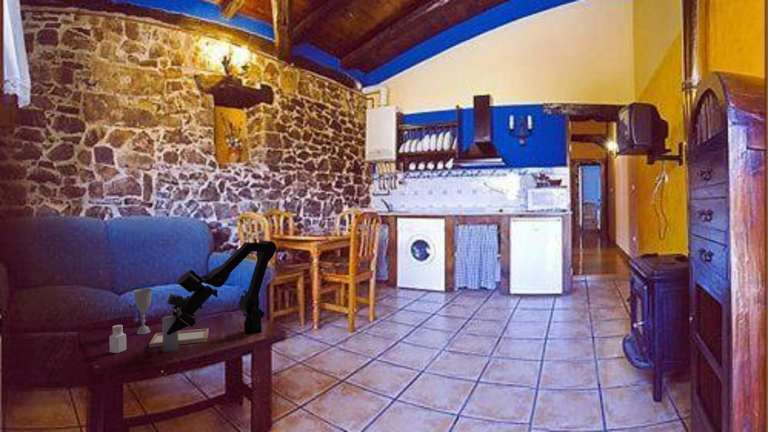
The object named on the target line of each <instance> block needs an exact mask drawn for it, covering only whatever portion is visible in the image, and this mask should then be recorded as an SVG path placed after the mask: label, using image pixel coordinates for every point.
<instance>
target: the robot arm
mask: <svg viewBox="0 0 768 432" xmlns="http://www.w3.org/2000/svg"><path fill="white" fill-rule="evenodd" d="M277 248H278V247H277V245H276V243H275V242H274V241H272V240H261V241H259V242H250V241H249V242H248V241H246V242H243V244H242V245H241V246H240V247H239V248H238V249H237V250H236V251H235V252H234V253H233V254H232V255H231V256H230V257H229V258H227V260H226V261H224V262H223V263H222V264H221V265H219V266H217V267H215V268H213V269H212V270H211V271H209V272H207V274H206V275H201V276H199V275H198V274H197V273H196V272H195V270H192V269H190V270H189V271H187V272H185V273H184V274H182V275H181V276H180V277H179V278H178V280H177V284H178V285H179V286H180V287H182V288H183V289H184V290H185V291H187V292H188V293H192V294H191V295H187V296H186V297H183V296H182V295H181V296H180V295H179V294H177V295H176V294H173V293H170V295H169V296H168V299H167V301H166V302H167V304H168V305H170V306H171V308H172V309H171V314H172V315H171V316H175V322H174V323H173V324H172V326H171V327H170V328H169V330H168V331H167V333H166V334H167V335H170V334H172V333H174V332H176V331H181V330H183V329H184V328H187V327H191V328H192V327H193V326H195V325H196V318H195V316H196V315H195V314H196V313H197V312H198V310H199V309H200V310H201V309H203V305H204V304H205V303H206V302H207V301H208V300H209V298H210V297H212V296H214V298H218V291H219V290H217V289H216V288H221V287H222V286H224V285H225V283H226V282H227V281H228V279H229V277H230V275H231V273H232V272H233V271H234V270H235V269H236V268H237V267H238V266H239V265H240V264H241V263H242V262H243V261H244V260H245V259H246V258H247V257H248V256H249V255H250V254H251V253H253V252H256V263H255V266H254V269H253V274H252V276H251V279H250V283H249V286H248V289H247V292H246V293H245V294H244V295H242V294H241V295H240V298H239V299H240V300H239V302H238V309H239V311H240V312H241V313H242V315H243V316H244V317H245V320H243V327H244V329H243V330H244V332H245V334H246V335H247V334H256V333H257V334H258V333H262V331H263V330H262V319H263V318H264V315H265V311H263V310H262V309H261V308H260V303H261V302H260V292H261V289H262V286H263V283H264V278H265V274H266V271H267V268H268V265H269V262H270V261H271V260H272V259H273V257H274V256H275V253H276V252H277ZM203 284H206V285H203ZM212 287H214V289H213V288H212Z"/></svg>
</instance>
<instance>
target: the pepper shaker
mask: <svg viewBox="0 0 768 432" xmlns="http://www.w3.org/2000/svg"><path fill="white" fill-rule="evenodd" d="M123 326H124V325H122V324H116V325H113V326H112V334H110V336H109V339H108V340H109V352H110V353H113V354H119V353H121V352H124V351H126V350H127V334H126V333H124V331H123V329H124V328H123Z"/></svg>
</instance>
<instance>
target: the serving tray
mask: <svg viewBox="0 0 768 432" xmlns="http://www.w3.org/2000/svg"><path fill="white" fill-rule="evenodd" d="M209 332H210V328H209V327H207V328H200V329H199V328H198V329H187V330H178V346H179V345H188V344H189V345H190V344H196V343H197V344H198V343H206V342H207V341H208V337H209ZM158 347H159V348H161V347H163V332H156V333H155V334H154V335H153V337H152V338H151V339H150V341H149V343H148V348H158Z"/></svg>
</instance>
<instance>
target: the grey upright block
mask: <svg viewBox="0 0 768 432" xmlns="http://www.w3.org/2000/svg"><path fill="white" fill-rule="evenodd" d="M161 321H162V323H161V326H162V327H161V328H162V333H163V346H162V352H165V353H169V352H174V351H177V350H178V349H179V345H178V331H179V330H178V331H176V332H174V333H172V334H170V335H167V334H166V333H167V331H168V330H169V328H170V327H171V326H172V324H173V323H174V322H175V316H172V315H167V316H164V317H162V318H161Z"/></svg>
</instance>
